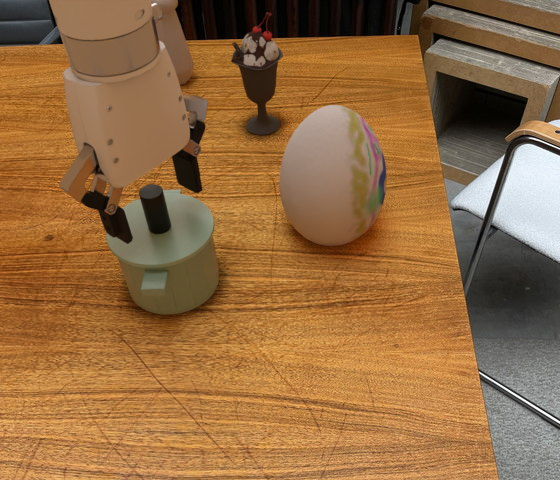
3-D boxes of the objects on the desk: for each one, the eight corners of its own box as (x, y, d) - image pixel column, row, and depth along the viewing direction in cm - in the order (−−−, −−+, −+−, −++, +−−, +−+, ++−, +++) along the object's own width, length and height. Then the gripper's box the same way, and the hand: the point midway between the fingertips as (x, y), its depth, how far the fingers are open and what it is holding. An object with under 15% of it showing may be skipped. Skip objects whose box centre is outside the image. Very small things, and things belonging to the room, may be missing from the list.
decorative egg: (389, 254, 74) (402, 139, 62) (284, 262, 74) (277, 149, 62) (375, 188, 81) (383, 74, 69) (279, 196, 82) (272, 83, 70)
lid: (99, 274, 65) (83, 231, 60) (118, 202, 71) (104, 159, 67) (211, 270, 64) (202, 227, 60) (218, 198, 71) (211, 155, 66)
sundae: (295, 120, 92) (291, 10, 80) (268, 143, 89) (260, 33, 77) (258, 107, 94) (248, -1, 82) (231, 130, 91) (217, 21, 79)
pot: (118, 334, 69) (99, 285, 63) (139, 236, 78) (124, 185, 72) (213, 332, 68) (203, 282, 62) (223, 233, 78) (215, 182, 72)
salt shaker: (202, 73, 101) (188, -16, 91) (184, 91, 98) (168, 1, 88) (170, 67, 103) (153, -21, 92) (152, 84, 100) (132, -5, 89)
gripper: (158, -9, 57) (191, 158, 71) (-4, 74, 50) (67, 242, 63) (218, 12, 54) (240, 182, 67) (54, 104, 46) (116, 274, 60)
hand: (156, 211), depth 65 cm, fingers open, 9 cm apart
